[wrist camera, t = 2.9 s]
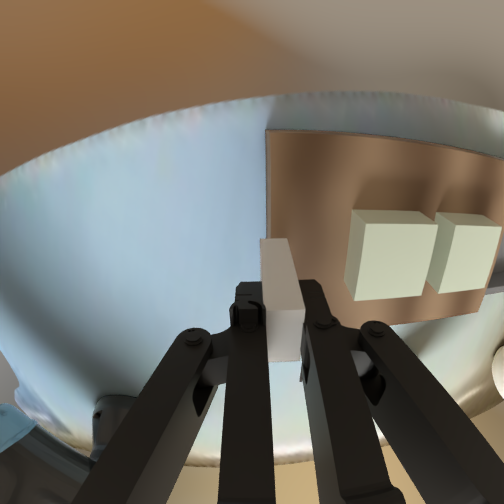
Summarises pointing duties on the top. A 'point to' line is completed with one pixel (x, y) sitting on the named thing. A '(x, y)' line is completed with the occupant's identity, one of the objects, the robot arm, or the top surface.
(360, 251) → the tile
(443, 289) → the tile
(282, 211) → the walnut board
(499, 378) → the air blower bulb
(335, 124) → the top surface
